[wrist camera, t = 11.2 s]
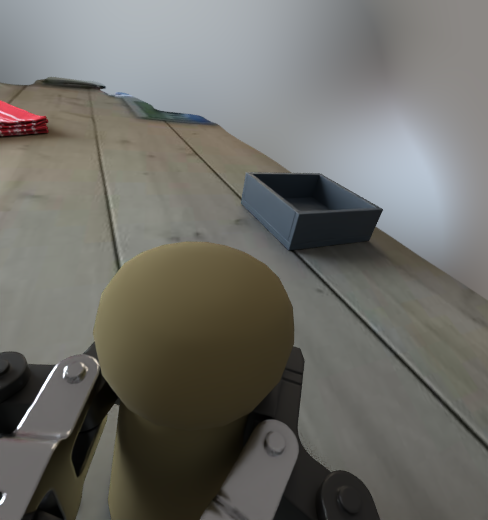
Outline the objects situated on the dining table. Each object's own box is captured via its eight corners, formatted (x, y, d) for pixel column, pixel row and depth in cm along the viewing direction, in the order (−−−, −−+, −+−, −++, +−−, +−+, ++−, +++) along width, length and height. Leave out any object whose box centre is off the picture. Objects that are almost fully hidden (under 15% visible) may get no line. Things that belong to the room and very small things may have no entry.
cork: (273, 527, 12) (384, 341, 6) (110, 607, 10) (40, 429, 4) (225, 395, 17) (263, 214, 11) (106, 427, 14) (71, 219, 8)
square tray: (369, 240, 37) (383, 209, 35) (288, 250, 32) (299, 214, 30) (311, 200, 46) (319, 173, 44) (240, 203, 41) (246, 172, 38)
